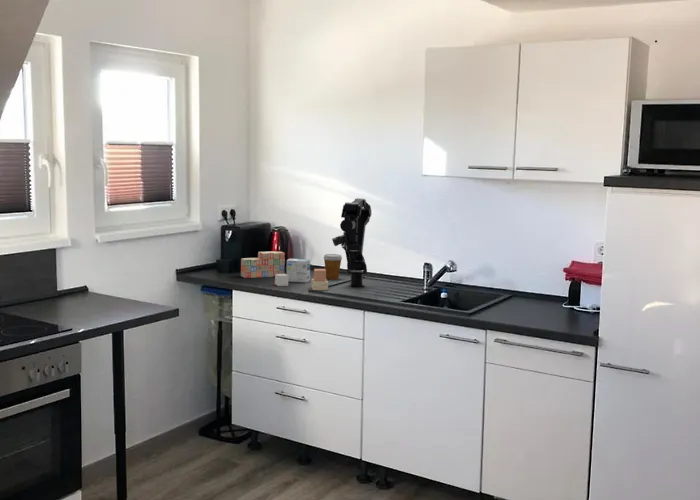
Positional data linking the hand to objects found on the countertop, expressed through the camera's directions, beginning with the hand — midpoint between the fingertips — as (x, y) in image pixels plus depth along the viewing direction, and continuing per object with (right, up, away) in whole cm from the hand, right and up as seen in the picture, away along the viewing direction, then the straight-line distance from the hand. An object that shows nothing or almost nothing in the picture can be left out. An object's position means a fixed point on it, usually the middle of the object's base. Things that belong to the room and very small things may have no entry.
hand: (350, 263), depth 353 cm
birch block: (-14, -12, +6) cm, 20 cm away
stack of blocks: (-44, -7, +37) cm, 58 cm away
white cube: (-33, -11, +13) cm, 37 cm away
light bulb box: (-26, -9, +26) cm, 37 cm away
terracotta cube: (-14, -8, +6) cm, 17 cm away
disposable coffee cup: (-9, -8, +35) cm, 38 cm away
